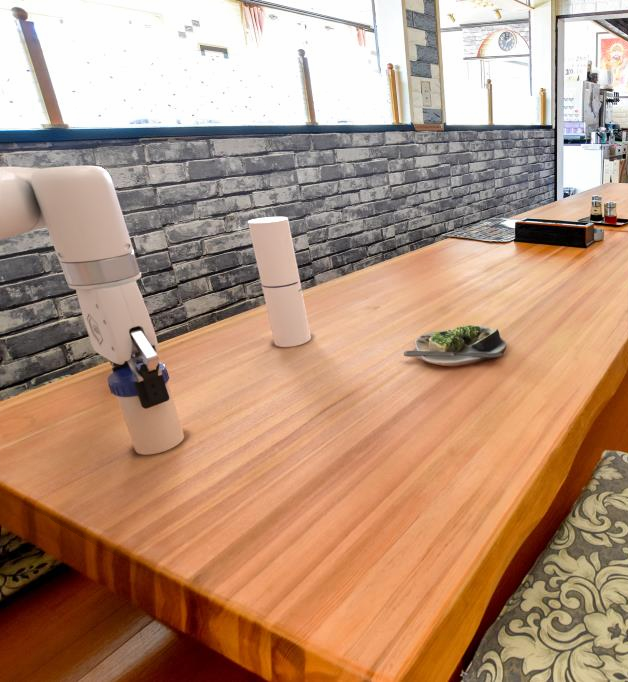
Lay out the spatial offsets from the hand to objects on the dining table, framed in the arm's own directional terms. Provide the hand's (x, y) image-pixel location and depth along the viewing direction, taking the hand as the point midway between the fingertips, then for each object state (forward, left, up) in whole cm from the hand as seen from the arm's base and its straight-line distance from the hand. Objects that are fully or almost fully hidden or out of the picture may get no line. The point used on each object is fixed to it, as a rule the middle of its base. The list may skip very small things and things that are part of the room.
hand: (144, 395), depth 73 cm
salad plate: (+49, +13, -8) cm, 51 cm away
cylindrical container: (+18, +34, -8) cm, 39 cm away
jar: (0, 0, -8) cm, 8 cm away
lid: (0, 0, +3) cm, 3 cm away
